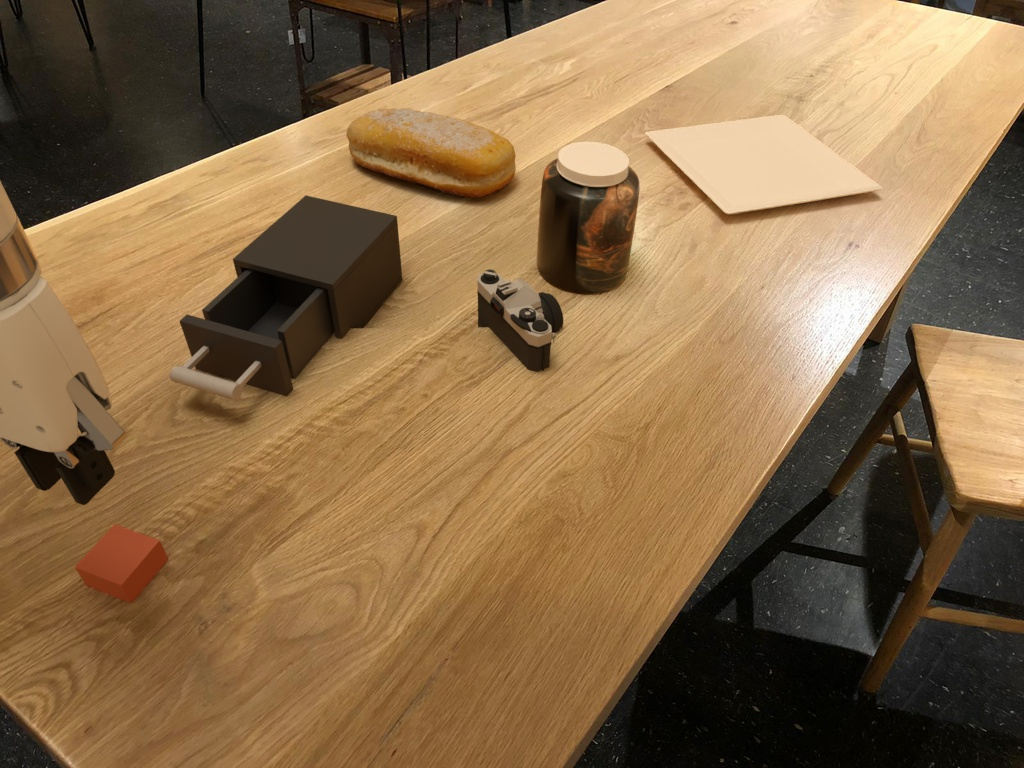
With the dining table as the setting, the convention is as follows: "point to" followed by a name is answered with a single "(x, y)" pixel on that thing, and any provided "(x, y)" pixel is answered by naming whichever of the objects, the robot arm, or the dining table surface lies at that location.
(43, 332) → the robot arm
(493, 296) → the camera
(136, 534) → the block
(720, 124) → the plate
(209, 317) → the drawer
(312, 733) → the dining table surface
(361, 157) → the bread
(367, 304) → the cabinet
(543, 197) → the jar
